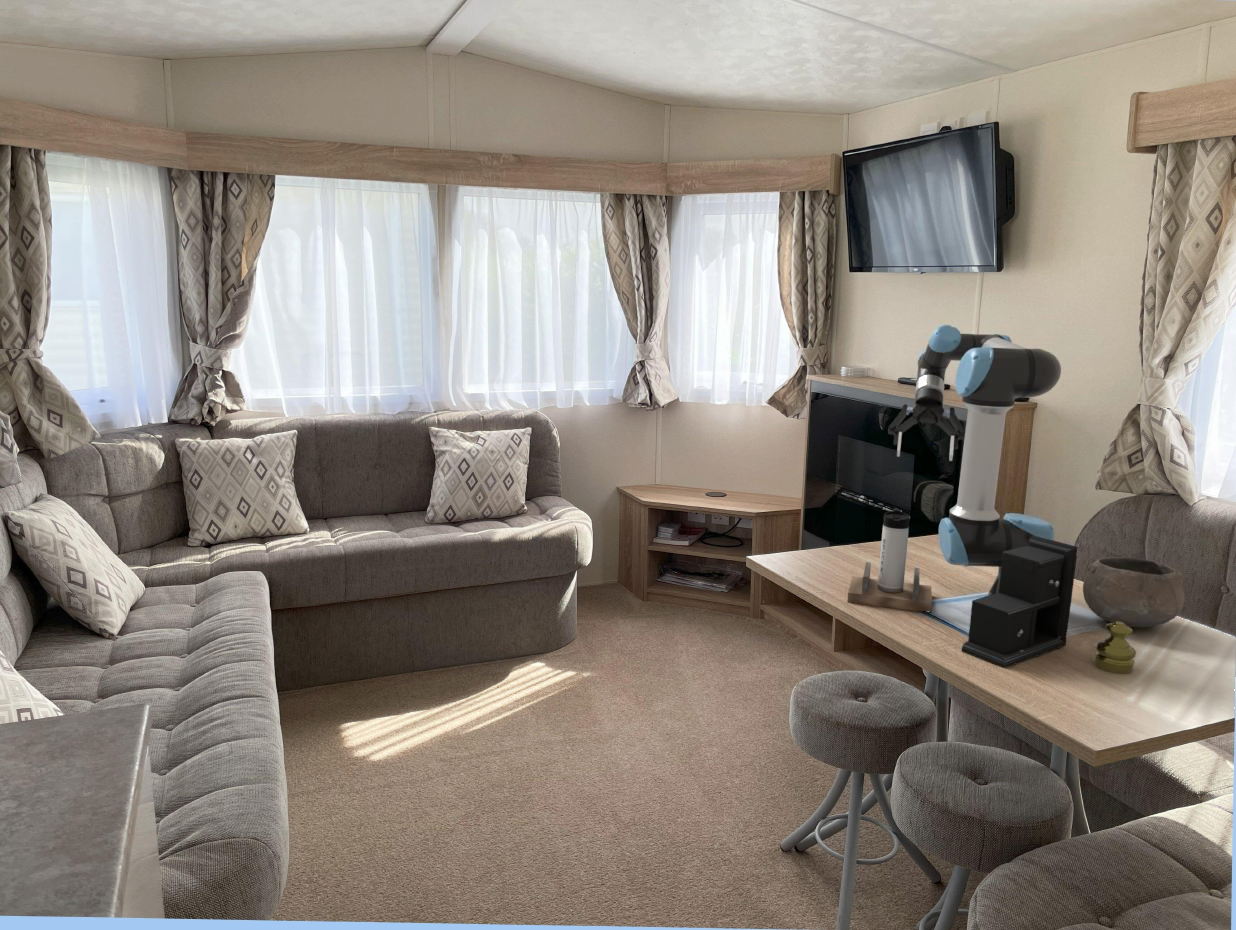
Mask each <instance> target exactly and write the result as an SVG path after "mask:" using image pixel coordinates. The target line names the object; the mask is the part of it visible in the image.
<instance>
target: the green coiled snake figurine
mask: <svg viewBox="0 0 1236 930" xmlns="http://www.w3.org/2000/svg"><path fill="white" fill-rule="evenodd" d="M1105 629H1106V630H1107V631H1108V632H1109V633H1110V636H1108V637H1107V638H1105V639H1104V640H1100V641H1098V642H1097V643H1096V647H1095V650H1096V653H1094V655H1095V656H1094V665H1095V666H1096V667H1097V668H1099V669H1101V670H1103V671H1106V672H1109V673H1113V674H1119V675H1120V674H1122V675H1123V674H1125V675H1126V674H1130V673H1132V672H1133V671H1134V667H1135V666H1134V665H1135V663H1136V662H1135V659H1134V658H1135V657H1136V655H1137V651H1136V649H1135V648H1134V647H1133V646H1132V645H1130V643H1129V642H1128V641H1127V639H1126V637H1127V636H1128V635H1131V634H1132V633H1133V629H1132V627H1129V626H1128V625H1125V624H1124V623H1123V622H1118V621H1117V622H1109V623H1106V624H1105Z"/></svg>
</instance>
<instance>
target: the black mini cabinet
mask: <svg viewBox="0 0 1236 930" xmlns="http://www.w3.org/2000/svg"><path fill="white" fill-rule="evenodd" d="M1078 547H1079V546H1076V545H1071V544H1068V543H1064V542H1060V541H1057V540H1054V541H1053V540H1050V539H1046V538H1042V537H1038V536H1032V537H1031V538H1030V539H1029V545H1028V546H1024V547H1020V548H1016V549H1012V550H1008V551H1004V552H1003V558H1002V566H1001V576H1000V585H999V592H998V593H996V594H992V595H989V596H988V595H984V596H983V597H979V598H976V599H972V600H971V609H970V610H971V611H970V620H969V630H968V631H969V632H968V640H967V641H965V642H963V644H962V647H961V652H964V653H966V654H968V655H971V656H973V657H975V658H979V659H980V660H983V661H986V662H988V663H991V664H993V665H995V666H999V667H1000V668H1003V669H1006V668H1008V667H1011V666H1014V665H1016V664H1018V663H1021V662H1024V661H1027V660H1030V659H1032V658H1035V657H1038V656H1041V655H1043V654H1046V653H1048V652H1051V651H1054V650H1057V649H1060V648H1062V647H1065V646H1066V644H1067V637H1068V627H1069V621H1070V620H1069V619H1070V613H1071V606H1072V604H1071V603H1072V597H1073V591H1074V583H1075V581H1074V580H1075V573H1076V566H1077V559H1078V556H1077V555H1078Z"/></svg>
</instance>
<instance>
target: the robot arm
mask: <svg viewBox="0 0 1236 930" xmlns="http://www.w3.org/2000/svg"><path fill="white" fill-rule="evenodd" d="M952 361H956V362H957V361H959V364H958V367H957V368H956V374H955V379H954V380H955V381H954V383H955V391H956V393H957V395H958V396H959V397H960V396H961V397H962V399H961V400H962V401H961V403H962V405H964V406H965V408H966V409H967V413H966V414H967V416H966V423H965V429H964V426H963V425H962V424H961V422H960V420H959V418H958V416H957V415H956V411H955V408H954V407H949V408H948V409H946V408H945V409H944V407H943V406H944V391H945V380H946V379H945V378H946V370H947V369H948V367H949V365H950V363H951V362H952ZM1061 374H1062V365H1061V363H1060V361H1059V359H1058V358H1057V357H1056V356H1055V354H1053V353H1052V352H1049V351H1048V350H1044V349H1041V348H1027V347H1024V346H1022V345H1019V344H1016V343H1014V342H1012V339H1011V338H1010V336H1009V335H1005V334H998V333H997V334H996V333H995V334H982V333H980V334H979V333H978V334H974V333H961V331H960V330H959V329H958V328H957V327H955V326H954V327H953V326H952V325H949V324H942V325H940V326H937V327H936V328H935V330H934V331H933V333H932V334H931V336H930V338H929V340H928V343H927V346H926V348H924V349H923V350H922V351H920V353H919V357H918V360H917V374H916V375H917V376H916V384H915V386H916V387H915V396H914V405H913V406H908V404H905V403H904V404H903V405H902V408H901V410H900V412H898V414H897V416H896V417H895V418H894V420H893V421H891V423H890V424H889V426H888V427H887V428H888V429H887V434H888V435H892V436H893V445H894V446H897V449H896V450H897V451H896V457H899V458H900V457H901V447H902V446H901V445H902V436H903V433H905V432H906V431H908V430H909V429H910V428H911V427H913V426H914V425H917V424H918V423H919V422H921V424H926V423H927V424H934V423H935V424H936V425H937V426H938V427H940V428H941V429H942V430H943V431H944V432H945V433H946V434H947V436H948V437H950V443H949V456H948V457H949V458H948V459H949V462H953V457H954V450H955V451H957V450H958V449H959V441H960V440H962V441H963V443H964V444H963V448H962V449H963V451H962V458H961V466H960V467H961V468H960V474H959V475H960V476H959V485H958V492H957V493H958V495H957V499H956V500H957V502H956V504H955V505H954V506H953V507H951V508H950V509H949V512H948V513H949V515H948V517H944V518H941V520H940V523H939V525H938V541H939V547H940V550H941V553H942V556H943V559H944V560H946V562H947V563H948V564H950V565H953V566H962V567H967V568H968V567H987V568H988V567H990V568H992V567H994V568H998V570H997V571H998V572H997V575H996V577H995V579H994V581H993V583H992V584H991V585H992V586H991V587H990V589H989V591H988V594H987V596H989V595H992V594H996V593H998V592H999V585H1000V576H1001V566H1002V558H1003V552H1004V551H1008V550H1012V549H1016V548H1020V547H1024V546H1028V545H1029V539H1030V538H1031V537H1032V536H1038V537H1042V538H1046V539H1050V540H1053V541H1055V528H1054V526H1053V525H1052V524H1051V523H1050V522H1048V521H1046V520H1044V519H1042V518H1039V517H1035V516H1031V515H1027V514H1022V513H1015V512H1010V513H1005V515H1004V516H1003V520H1002V519H1001V517H1000V516H1001V515H1000V514H999V513H998V511H997V510H996V509H995V503H996V497H997V490H998V489H997V488H998V481H999V480H998V479H999V474H1000V473H999V472H1000V463H1001V456H1002V449H1003V439H1004V431H1005V425H1006V424H1005V423H1006V416H1007V413H1008V412H1009V411H1010V410H1011V409H1013V408H1014V406H1015V400H1016V399H1017V398H1019V399H1020V398H1021V399H1022V398H1023V399H1024V398H1027V399H1028V398H1035V397H1039V396H1043V395H1044V394H1046V393H1048V392H1050V391H1051V390H1052V389H1053V388H1055V386H1056V385H1057V384H1058V382H1059V380H1060V378H1061ZM910 413H912V415H911V417H909V418H908V419H906V420H905V418H906V416H909V415H910ZM944 415H945V416H946V417H947V419H949V421H950V422H951V423H949V422H948V421H947V420H946V419H945V418H944ZM904 420H905V421H904ZM903 421H904V422H903Z"/></svg>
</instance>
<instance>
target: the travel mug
mask: <svg viewBox="0 0 1236 930" xmlns="http://www.w3.org/2000/svg"><path fill="white" fill-rule="evenodd" d="M910 518H911V517H910V515H909V514H908V513H906V512H902V511H901V510H899V509H898V510H896V509H894V510H892V511H886V512H885V513H884V514H883V522H882V523H883V524H882V533H881V546H880V554H879V555H880V556H879V567H878V578H877V579H878V581H879V582H878V588H879V589H880V590H882V591H885V592H890V593H899V592H902V591H903V587H904V585H903V584H904V583H905V574H906V573H905V572H906V563H907V562H906V561H907V553H908V551H907V550H908V540H909V529H910V526H909V525H910Z"/></svg>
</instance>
